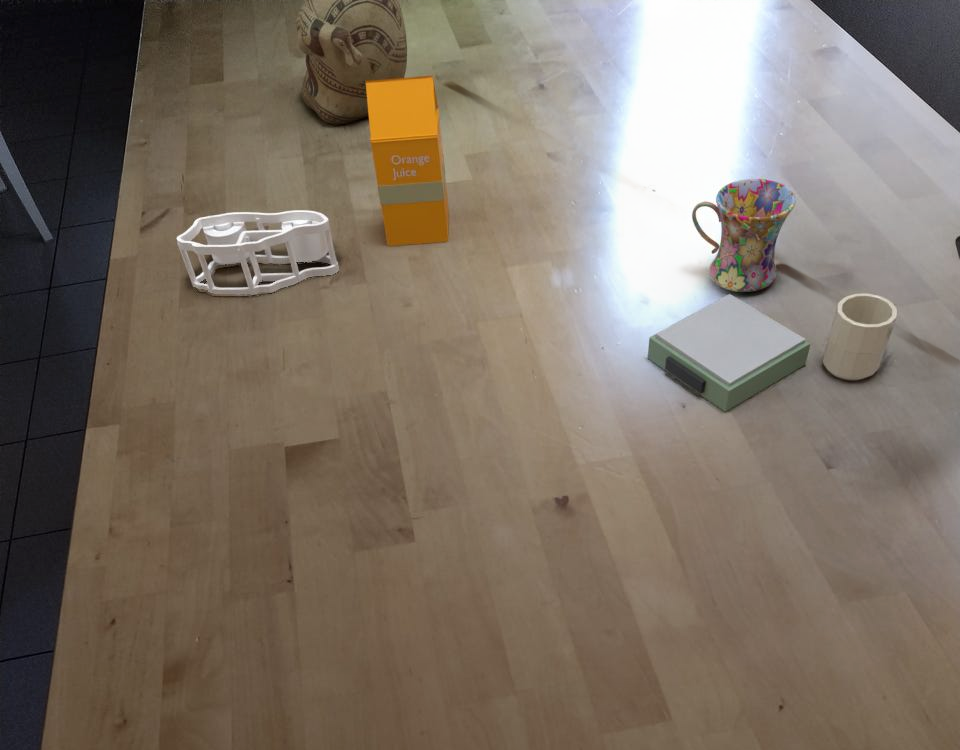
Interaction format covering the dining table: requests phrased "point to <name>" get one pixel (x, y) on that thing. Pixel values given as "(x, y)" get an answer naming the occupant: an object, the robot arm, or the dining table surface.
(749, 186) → the mug
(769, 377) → the scale
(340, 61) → the ceramic vessel
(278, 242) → the white lattice frame
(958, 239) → the robot arm
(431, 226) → the orange juice
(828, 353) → the pen cup
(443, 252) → the dining table surface
